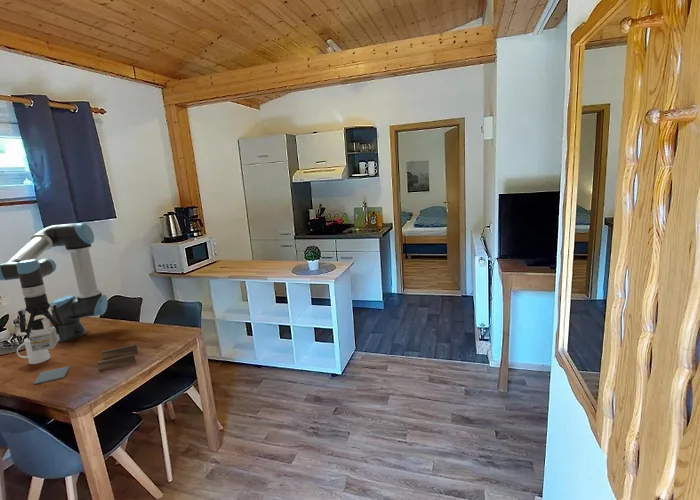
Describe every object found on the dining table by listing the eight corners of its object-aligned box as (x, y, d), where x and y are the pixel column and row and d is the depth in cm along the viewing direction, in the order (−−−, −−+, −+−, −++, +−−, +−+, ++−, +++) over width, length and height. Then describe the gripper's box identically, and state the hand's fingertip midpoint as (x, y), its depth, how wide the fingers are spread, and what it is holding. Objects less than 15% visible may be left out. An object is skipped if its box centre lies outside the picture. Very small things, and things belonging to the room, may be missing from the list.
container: (32, 352, 161) (25, 324, 159) (37, 345, 168) (31, 318, 165) (54, 348, 165) (48, 320, 162) (58, 341, 171) (52, 315, 169)
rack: (103, 358, 185) (102, 351, 184) (137, 351, 191) (136, 343, 190) (98, 371, 172) (97, 363, 171) (135, 362, 178) (134, 355, 178)
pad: (41, 373, 173) (41, 372, 173) (69, 367, 178) (69, 365, 178) (33, 384, 163) (33, 383, 163) (64, 377, 168) (63, 376, 168)
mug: (19, 368, 179) (13, 345, 177) (21, 361, 186) (15, 339, 184) (50, 360, 186) (44, 338, 183) (51, 354, 193) (46, 332, 190)
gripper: (1, 301, 155) (14, 352, 160) (61, 292, 164) (72, 340, 169) (8, 297, 162) (20, 345, 166) (65, 288, 171) (75, 334, 175)
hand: (46, 342), depth 168 cm, fingers closed on container, 8 cm apart
